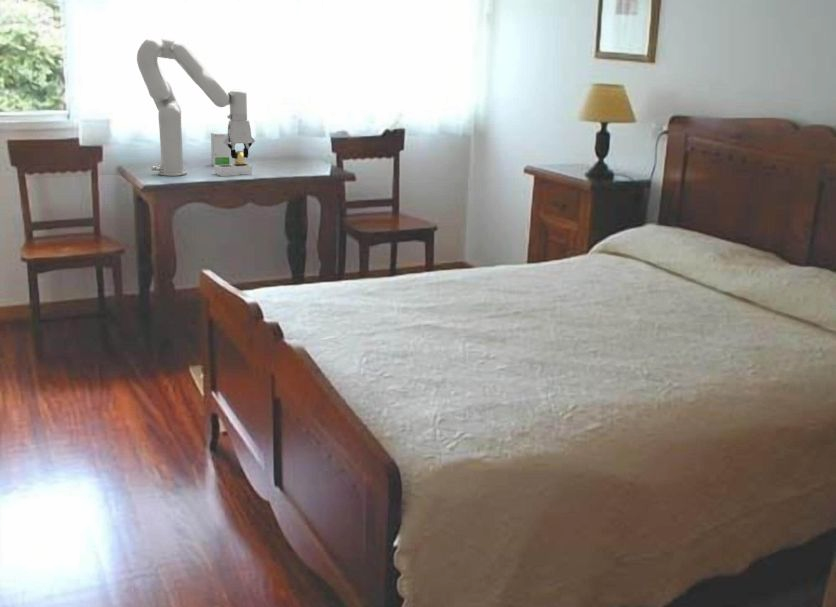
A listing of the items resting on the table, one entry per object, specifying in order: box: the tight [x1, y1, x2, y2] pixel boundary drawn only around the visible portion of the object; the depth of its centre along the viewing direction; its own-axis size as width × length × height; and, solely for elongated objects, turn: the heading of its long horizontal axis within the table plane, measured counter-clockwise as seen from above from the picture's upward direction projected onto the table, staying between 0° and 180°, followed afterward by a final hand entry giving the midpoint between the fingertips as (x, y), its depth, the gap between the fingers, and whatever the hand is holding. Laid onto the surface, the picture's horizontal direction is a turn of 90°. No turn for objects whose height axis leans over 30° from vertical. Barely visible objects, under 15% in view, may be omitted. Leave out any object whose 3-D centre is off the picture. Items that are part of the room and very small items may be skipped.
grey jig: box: [213, 163, 253, 177], centre depth 426 cm, size 15×8×4 cm, turn 124°
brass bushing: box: [234, 150, 246, 166], centre depth 427 cm, size 4×4×8 cm
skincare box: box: [210, 132, 231, 167], centre depth 449 cm, size 8×7×16 cm
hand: (239, 157), depth 427 cm, fingers open, 5 cm apart
